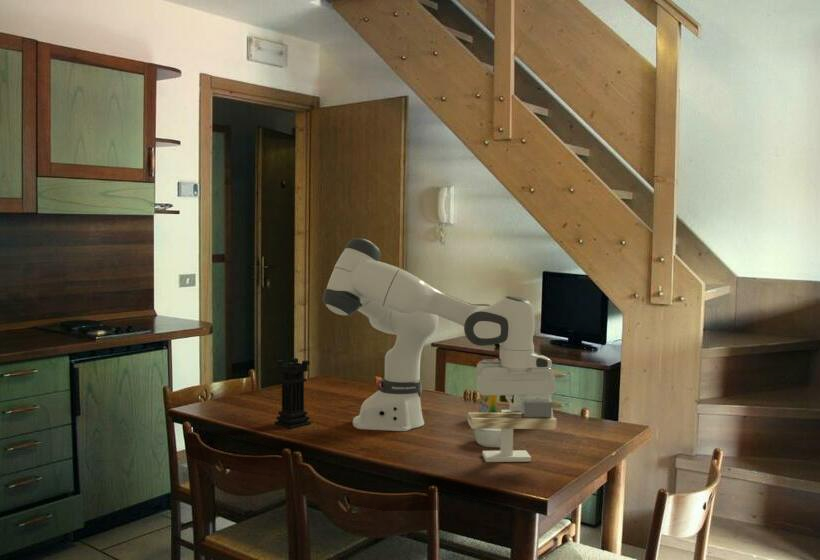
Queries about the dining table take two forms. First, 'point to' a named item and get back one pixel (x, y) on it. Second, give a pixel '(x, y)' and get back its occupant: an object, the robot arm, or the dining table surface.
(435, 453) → the dining table surface
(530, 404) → the block
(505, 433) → the stand
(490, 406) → the crayon box
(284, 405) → the chess piece
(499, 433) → the ramekin
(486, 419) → the beam
